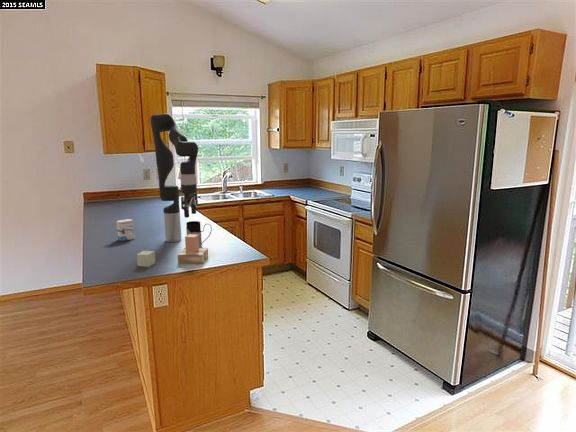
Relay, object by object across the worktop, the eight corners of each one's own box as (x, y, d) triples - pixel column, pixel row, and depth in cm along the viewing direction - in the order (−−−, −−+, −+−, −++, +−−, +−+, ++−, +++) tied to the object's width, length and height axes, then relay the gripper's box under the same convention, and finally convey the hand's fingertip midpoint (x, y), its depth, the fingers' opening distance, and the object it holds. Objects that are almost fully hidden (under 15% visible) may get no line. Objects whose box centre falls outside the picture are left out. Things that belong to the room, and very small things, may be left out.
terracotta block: (189, 249, 195) (189, 234, 193) (199, 249, 194) (198, 234, 192) (185, 252, 190) (184, 236, 188) (195, 252, 189) (194, 237, 187)
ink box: (120, 241, 225) (119, 222, 223) (117, 239, 229) (115, 220, 226) (135, 238, 231) (133, 220, 229) (131, 237, 235) (130, 218, 232)
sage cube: (144, 262, 189) (143, 250, 188) (155, 262, 188) (154, 251, 187) (137, 266, 183) (136, 254, 182) (149, 266, 182) (148, 254, 181)
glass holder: (185, 247, 214) (184, 221, 211) (211, 244, 219) (209, 219, 216) (187, 251, 206) (186, 224, 203) (213, 249, 211) (212, 222, 208)
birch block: (185, 256, 198) (185, 247, 197) (208, 257, 198) (207, 248, 197) (178, 264, 187) (177, 254, 186) (202, 264, 186) (201, 255, 185)
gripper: (187, 181, 192) (189, 212, 196) (174, 184, 179) (176, 218, 182) (201, 181, 191) (203, 212, 195) (189, 185, 178) (191, 218, 181)
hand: (190, 215), depth 188 cm, fingers open, 8 cm apart
